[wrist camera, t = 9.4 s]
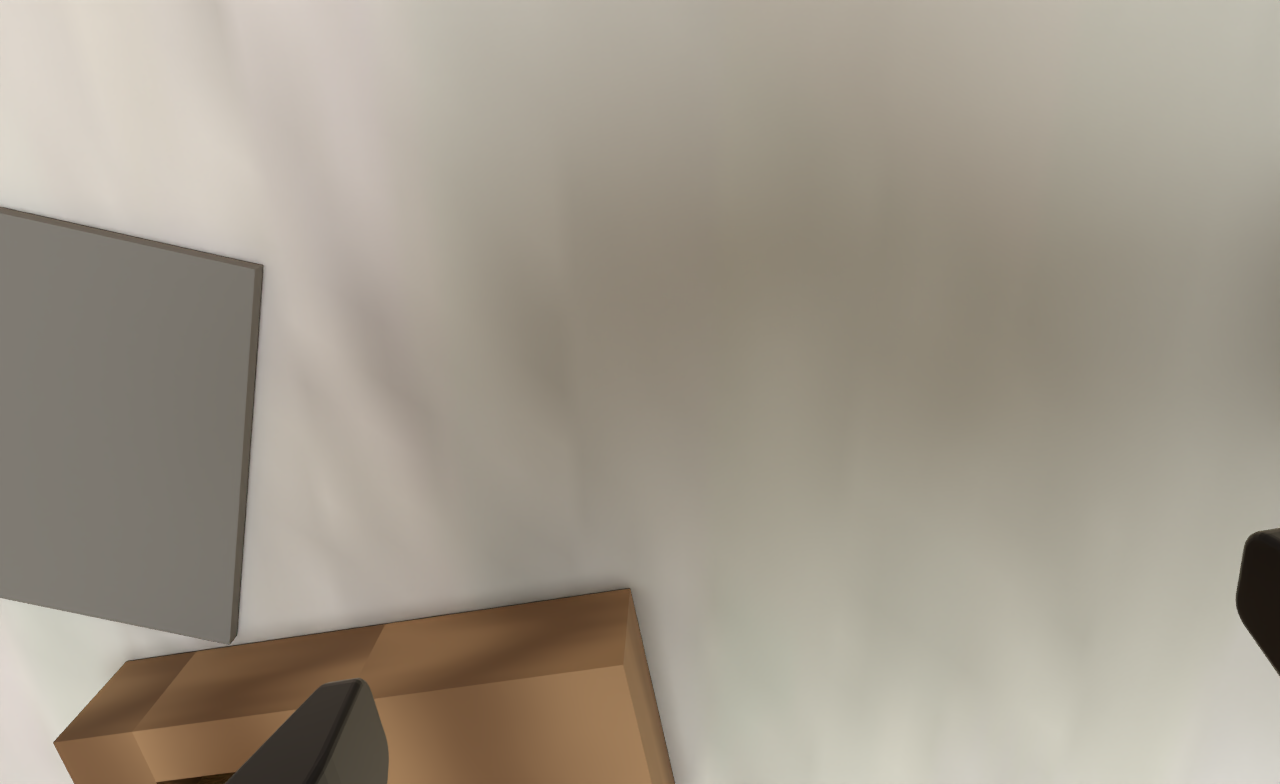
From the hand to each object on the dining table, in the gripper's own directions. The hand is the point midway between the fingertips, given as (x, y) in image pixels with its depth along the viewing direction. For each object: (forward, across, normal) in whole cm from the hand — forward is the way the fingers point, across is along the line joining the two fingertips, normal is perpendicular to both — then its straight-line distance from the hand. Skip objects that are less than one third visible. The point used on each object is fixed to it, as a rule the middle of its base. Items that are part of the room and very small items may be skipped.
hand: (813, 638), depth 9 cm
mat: (+14, +15, +1) cm, 20 cm away
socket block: (+12, +9, +12) cm, 19 cm away
